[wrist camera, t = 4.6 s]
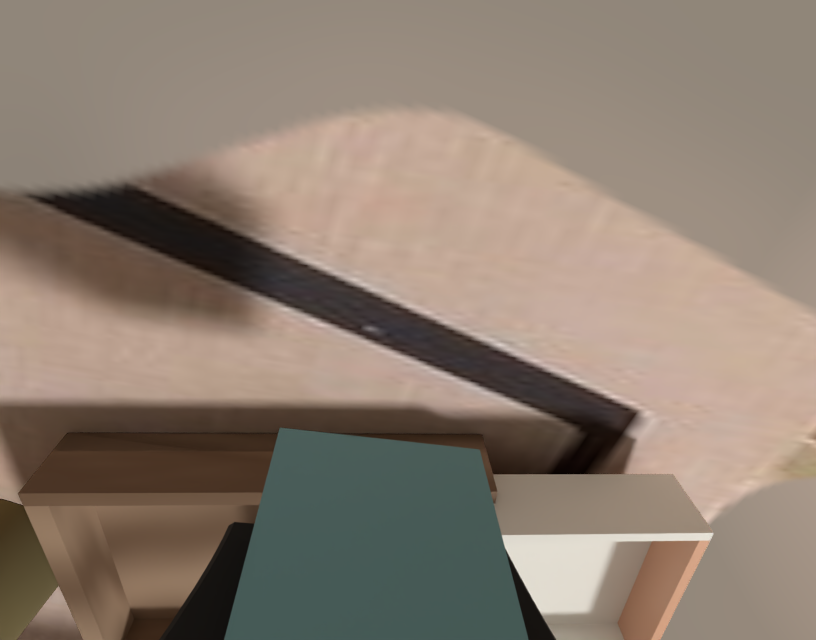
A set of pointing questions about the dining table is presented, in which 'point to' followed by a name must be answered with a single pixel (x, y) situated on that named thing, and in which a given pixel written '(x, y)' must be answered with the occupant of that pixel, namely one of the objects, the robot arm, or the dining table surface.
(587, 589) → the tray
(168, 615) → the dock
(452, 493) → the teal block
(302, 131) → the dining table surface
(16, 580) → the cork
